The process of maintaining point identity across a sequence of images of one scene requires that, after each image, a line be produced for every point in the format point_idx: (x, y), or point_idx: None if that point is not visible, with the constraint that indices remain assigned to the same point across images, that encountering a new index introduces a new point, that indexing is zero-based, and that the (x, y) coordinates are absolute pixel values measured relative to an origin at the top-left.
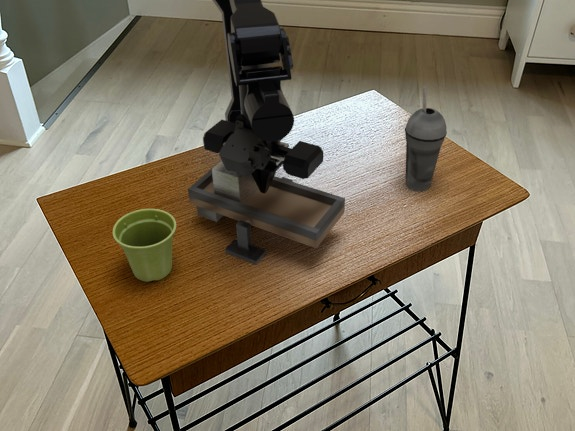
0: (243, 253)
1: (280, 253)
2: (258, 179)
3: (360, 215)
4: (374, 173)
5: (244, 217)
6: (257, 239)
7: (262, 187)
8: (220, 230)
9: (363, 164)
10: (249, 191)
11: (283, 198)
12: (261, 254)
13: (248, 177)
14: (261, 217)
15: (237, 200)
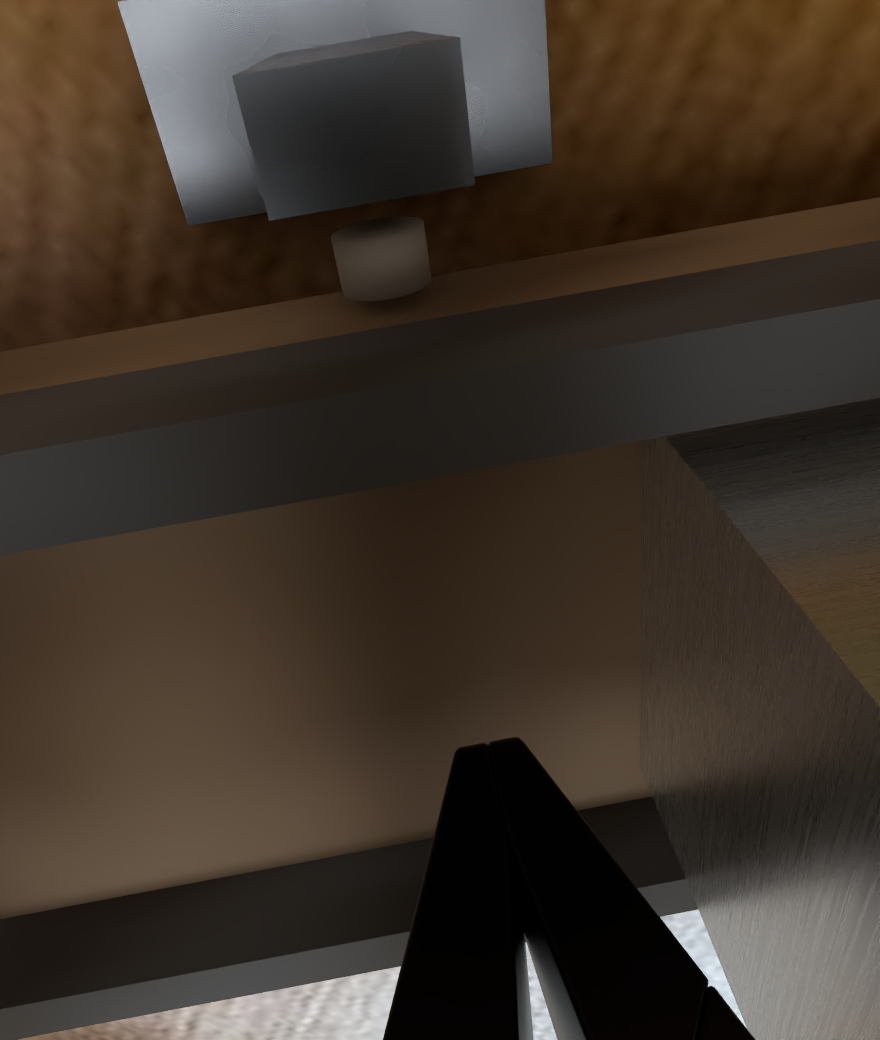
0: (323, 17)
1: (108, 305)
2: (574, 984)
3: None
4: (277, 1030)
5: (483, 299)
6: None
7: (486, 837)
8: (759, 201)
9: (364, 1035)
10: (679, 669)
11: (330, 778)
12: (164, 138)
13: (796, 888)
14: (161, 398)
15: (733, 454)
